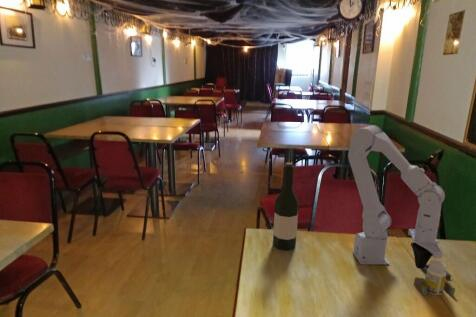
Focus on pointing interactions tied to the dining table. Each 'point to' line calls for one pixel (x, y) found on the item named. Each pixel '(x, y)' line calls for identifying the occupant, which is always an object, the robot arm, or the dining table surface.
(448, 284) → the channel
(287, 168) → the wine bottle
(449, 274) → the dark gray rectangular tray
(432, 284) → the supplement bottle
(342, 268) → the dining table surface
